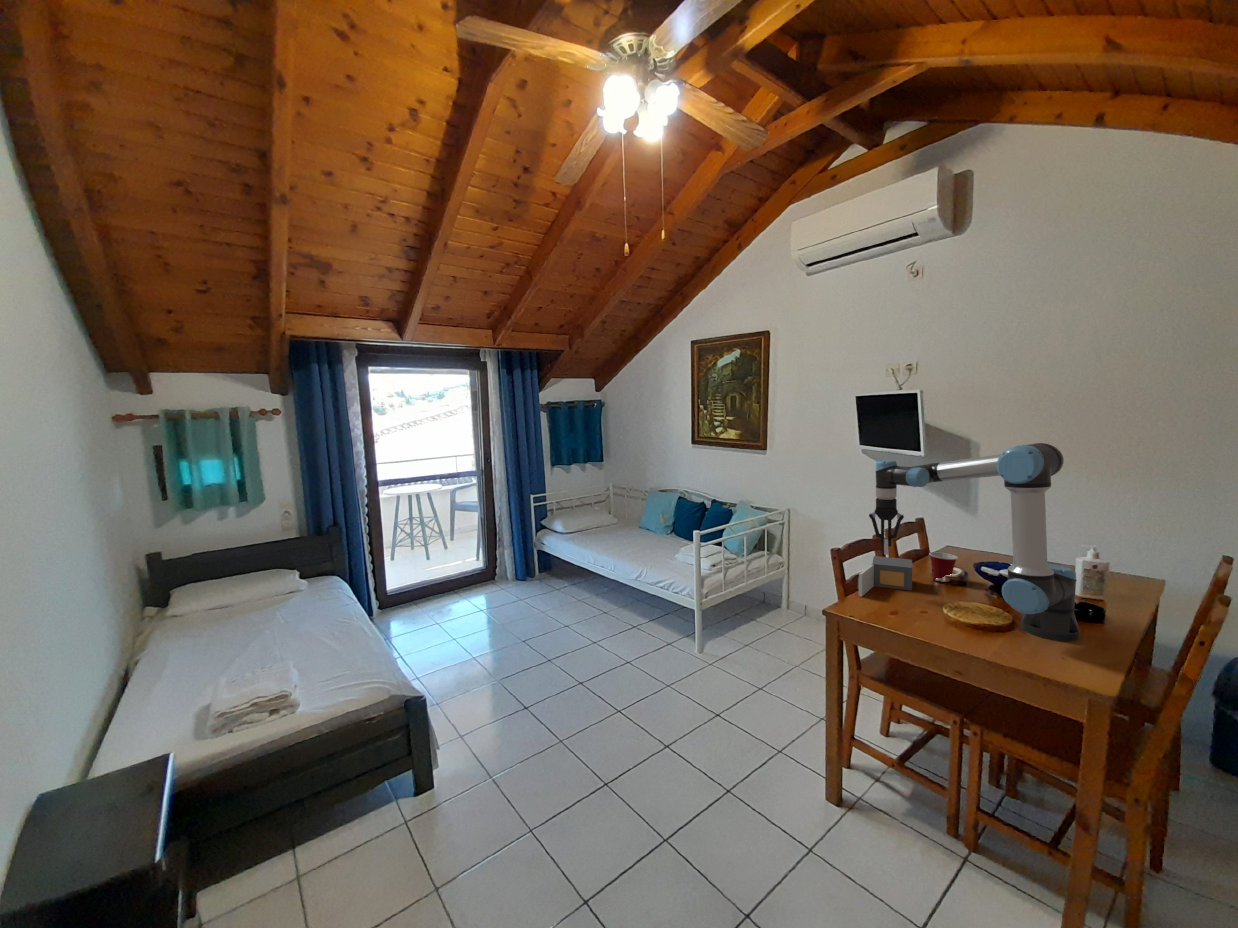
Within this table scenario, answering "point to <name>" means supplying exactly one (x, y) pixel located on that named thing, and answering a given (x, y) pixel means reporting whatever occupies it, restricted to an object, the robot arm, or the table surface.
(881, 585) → the grey box with door
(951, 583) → the table surface
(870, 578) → the side door
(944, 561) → the plastic cup
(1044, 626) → the robot arm
